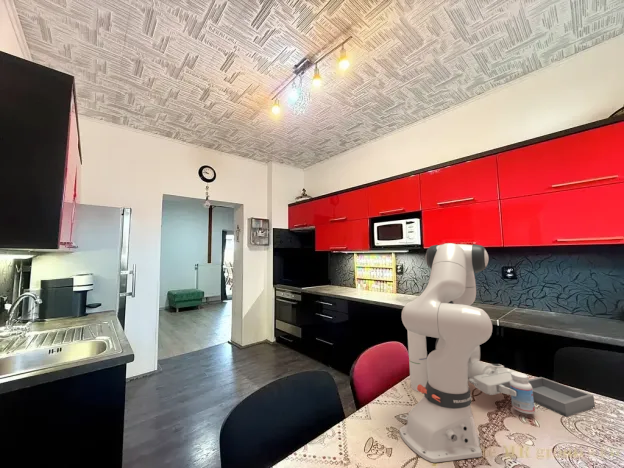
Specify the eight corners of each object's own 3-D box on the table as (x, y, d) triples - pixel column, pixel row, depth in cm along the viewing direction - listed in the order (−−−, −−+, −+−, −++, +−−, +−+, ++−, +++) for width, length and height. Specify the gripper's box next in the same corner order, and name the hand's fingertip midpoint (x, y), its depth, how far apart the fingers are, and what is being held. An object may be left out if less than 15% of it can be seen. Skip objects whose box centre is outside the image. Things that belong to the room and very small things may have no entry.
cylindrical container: (432, 392, 102) (427, 327, 105) (414, 392, 102) (410, 328, 105) (424, 383, 109) (420, 323, 112) (408, 384, 109) (404, 324, 112)
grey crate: (566, 416, 85) (564, 404, 85) (515, 394, 100) (514, 383, 100) (595, 407, 90) (593, 395, 90) (542, 387, 105) (540, 376, 105)
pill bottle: (539, 415, 83) (535, 378, 85) (518, 413, 84) (514, 377, 86) (527, 405, 89) (523, 371, 91) (508, 404, 90) (504, 370, 92)
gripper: (464, 370, 97) (501, 387, 84) (502, 363, 103) (542, 377, 90) (466, 388, 96) (503, 407, 83) (504, 379, 103) (544, 396, 90)
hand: (524, 391), depth 87 cm, fingers closed on pill bottle, 6 cm apart
